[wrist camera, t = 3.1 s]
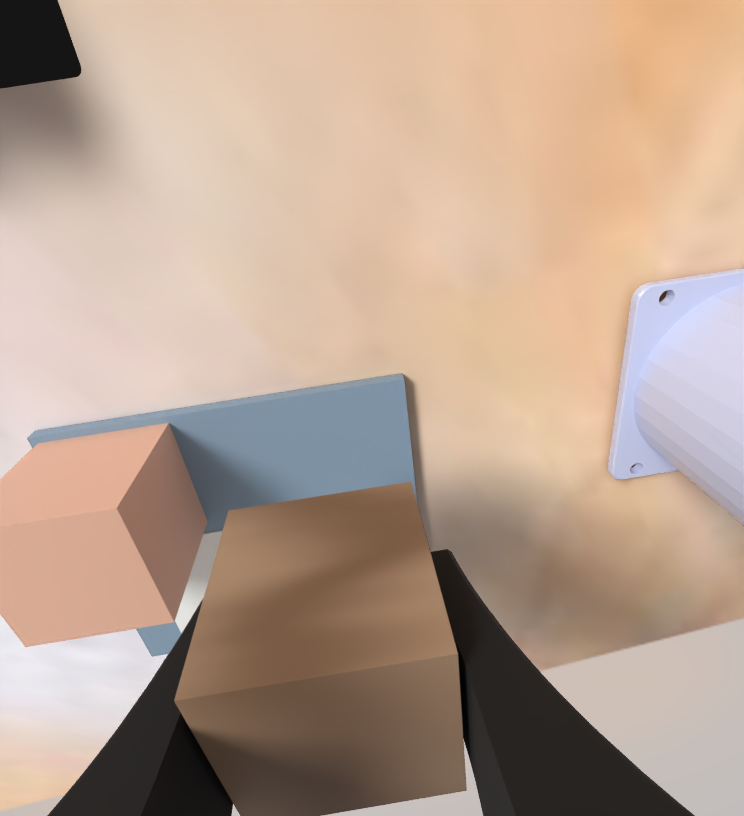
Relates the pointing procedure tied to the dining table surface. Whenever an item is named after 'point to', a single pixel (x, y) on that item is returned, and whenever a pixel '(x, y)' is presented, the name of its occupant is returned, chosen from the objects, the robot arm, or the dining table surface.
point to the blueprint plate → (273, 458)
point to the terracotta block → (97, 535)
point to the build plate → (34, 43)
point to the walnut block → (326, 658)
